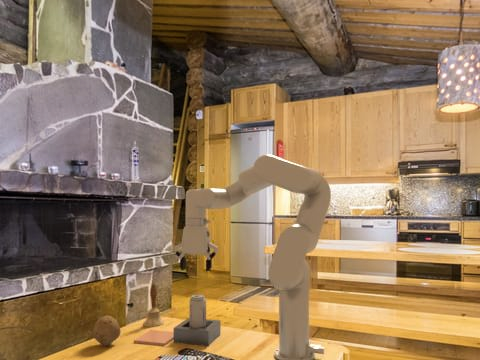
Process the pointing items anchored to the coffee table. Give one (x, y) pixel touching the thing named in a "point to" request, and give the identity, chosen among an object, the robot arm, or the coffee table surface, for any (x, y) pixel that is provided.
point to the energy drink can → (197, 312)
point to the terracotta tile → (155, 337)
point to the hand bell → (153, 311)
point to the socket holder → (197, 333)
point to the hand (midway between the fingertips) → (195, 270)
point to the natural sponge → (106, 330)
